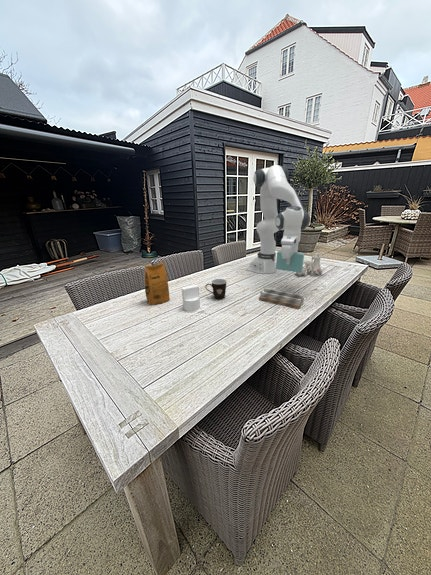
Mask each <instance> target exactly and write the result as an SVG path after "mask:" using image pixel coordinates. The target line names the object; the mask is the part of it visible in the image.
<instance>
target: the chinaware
mask: <svg viewBox="0 0 431 575" xmlns="http://www.w3.org/2000/svg"><path fill="white" fill-rule="evenodd" d="M321 258H322V256H321V255H320V254H319V253H318V252H315V253H314V254H313V255H311V261H303V264H304V266H305V267H304V266H303V269H302V272H301V273H300V272H295V273H296V275H297V276H298V277H303V275H304V274H306V272H307V275H309V276H312V277H319V276H320V275H321V274H322V273H323V269H322V268H321V264H320V263H321V262H320V261H321Z"/></svg>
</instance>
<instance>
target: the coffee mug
mask: <svg viewBox="0 0 431 575" xmlns="http://www.w3.org/2000/svg"><path fill="white" fill-rule="evenodd" d="M227 282H228V281H227V280H226V279H224V278H216V279H213V280H211V283H206V284H205V286H204V287H205V289H206V291H208V292H209V293H212V295H213V299H214V300H219V301H220V300H224V299H225V298H226V290H227V284H228V283H227ZM208 285H209V286H210V287H211V288H212V291H211V290H209V289H208V288H207V286H208Z"/></svg>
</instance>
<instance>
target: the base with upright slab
mask: <svg viewBox="0 0 431 575" xmlns="http://www.w3.org/2000/svg"><path fill="white" fill-rule="evenodd" d="M181 297H182V308H183V310H184V311H186V312H195V311H198V310H200V308H201V301H200V286H199V285H198V284H193V285H192V284H191V285H187V286H183V287H181Z"/></svg>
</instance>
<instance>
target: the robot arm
mask: <svg viewBox="0 0 431 575" xmlns="http://www.w3.org/2000/svg"><path fill="white" fill-rule="evenodd" d="M252 179H253V184H254V186H255V187H258V188H260V191H259V192H260V193H259V194H260V195H259V200H260V203H259V204H260V211H261V213H262V215H263V219H262V220H260V221H259V222H257V224H256V226H255V227H256V233H257V234H258V235H259V236H258V237H259V240H260V251H259V252H258V253H257V254H256V255H257V256H256V257H255V258H254V259H253V260H251V261H250V263H249V266H247V267H246V271H248V272H251V273H252V272H253V273H257V274H261V275H263V274H264V275H265V274H273V273H276V272H277V269H276V259H277V252H276V247H277V246H276V245H277V242H276V240H275V235H274V234H275V233H277V232H279V231H280V230H281V231H283V235H282V238H281V240H280V244H281V251H282V259H286V261H287V262H286V264H288V265H289V264H290V258H291V257H292V256H293V253H298V251H299V243H300V241H301V235H302V234H301V233H302V231H303V230H305V229H306V228H307V227H308V226H309V225H310V222H311V217H310V214H309V212H308V211H307V210H306V208H305V206H304V204H303V202H302V200H301V197H300V196H299V194H298V192H297V190H296V189H295V188H293V187H292V186H291V185H290V183H289V182H288V179H289V169H288V167H287V166H285V165H278V164H275V165H271V166H270V167H264V168H259V169H257V170H255V171H254V173H253V178H252ZM277 200H281V201H282V200H283V201H285V202H287V203H289V204H290V206H287V207H286V208H285V210H284V211H282V212H280V213H279V212H278V203H277Z"/></svg>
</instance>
